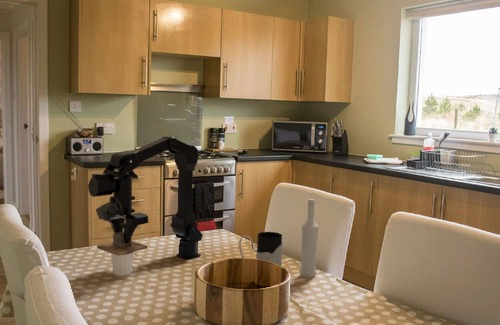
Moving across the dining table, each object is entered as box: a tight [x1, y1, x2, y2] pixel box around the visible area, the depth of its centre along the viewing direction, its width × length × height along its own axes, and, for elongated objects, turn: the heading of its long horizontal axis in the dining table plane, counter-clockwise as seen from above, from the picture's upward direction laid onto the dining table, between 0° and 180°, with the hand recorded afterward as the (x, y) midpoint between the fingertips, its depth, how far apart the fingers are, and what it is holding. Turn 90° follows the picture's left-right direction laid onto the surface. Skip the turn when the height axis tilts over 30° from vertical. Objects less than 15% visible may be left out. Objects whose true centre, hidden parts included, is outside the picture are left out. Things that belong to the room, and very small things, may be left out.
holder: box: [238, 231, 283, 267], centre depth 160 cm, size 9×14×15 cm, turn 72°
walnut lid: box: [96, 230, 148, 256], centre depth 163 cm, size 11×11×5 cm
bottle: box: [299, 198, 319, 279], centre depth 166 cm, size 5×5×25 cm
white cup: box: [110, 252, 134, 277], centre depth 164 cm, size 7×7×7 cm
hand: (122, 241), depth 164 cm, fingers closed on walnut lid, 4 cm apart
